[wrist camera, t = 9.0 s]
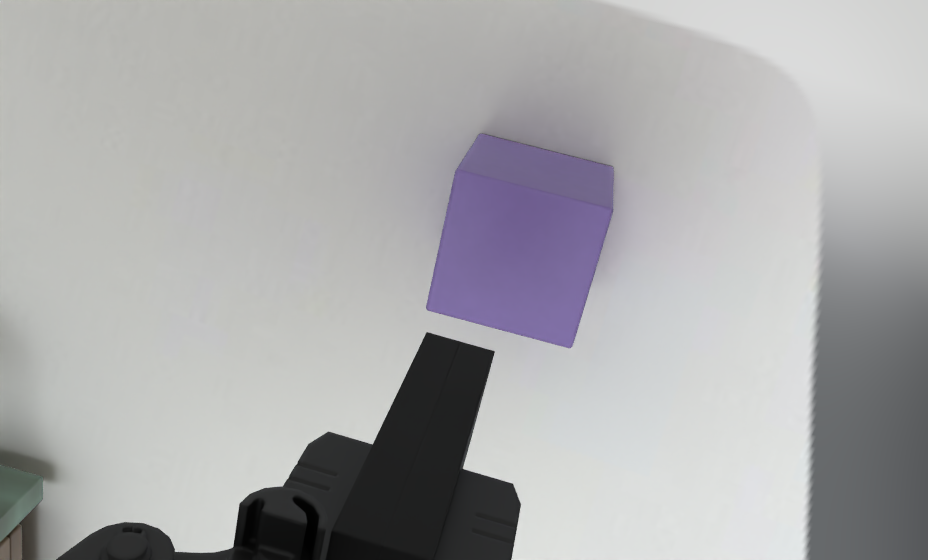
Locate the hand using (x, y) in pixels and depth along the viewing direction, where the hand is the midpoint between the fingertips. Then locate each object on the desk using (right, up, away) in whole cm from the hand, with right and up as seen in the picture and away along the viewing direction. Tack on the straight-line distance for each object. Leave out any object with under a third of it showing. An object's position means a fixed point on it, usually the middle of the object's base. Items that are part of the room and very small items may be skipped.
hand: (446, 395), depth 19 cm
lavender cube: (+3, +5, +10) cm, 11 cm away
